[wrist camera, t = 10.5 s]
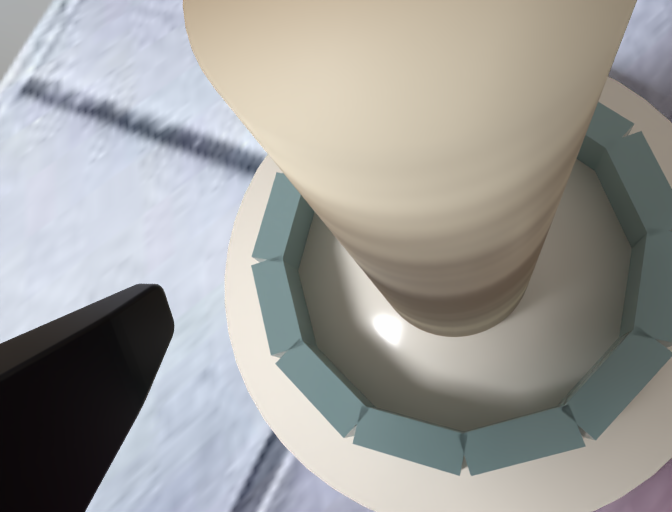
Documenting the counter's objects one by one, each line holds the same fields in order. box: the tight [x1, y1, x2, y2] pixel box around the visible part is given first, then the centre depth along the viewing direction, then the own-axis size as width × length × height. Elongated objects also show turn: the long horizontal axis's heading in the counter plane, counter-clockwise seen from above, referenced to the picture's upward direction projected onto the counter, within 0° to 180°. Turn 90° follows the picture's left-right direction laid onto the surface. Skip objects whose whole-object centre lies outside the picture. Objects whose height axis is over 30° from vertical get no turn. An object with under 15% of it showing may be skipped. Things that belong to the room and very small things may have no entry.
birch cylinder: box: [183, 0, 637, 337], centre depth 11 cm, size 4×4×12 cm
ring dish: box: [225, 77, 672, 512], centre depth 16 cm, size 15×15×2 cm
